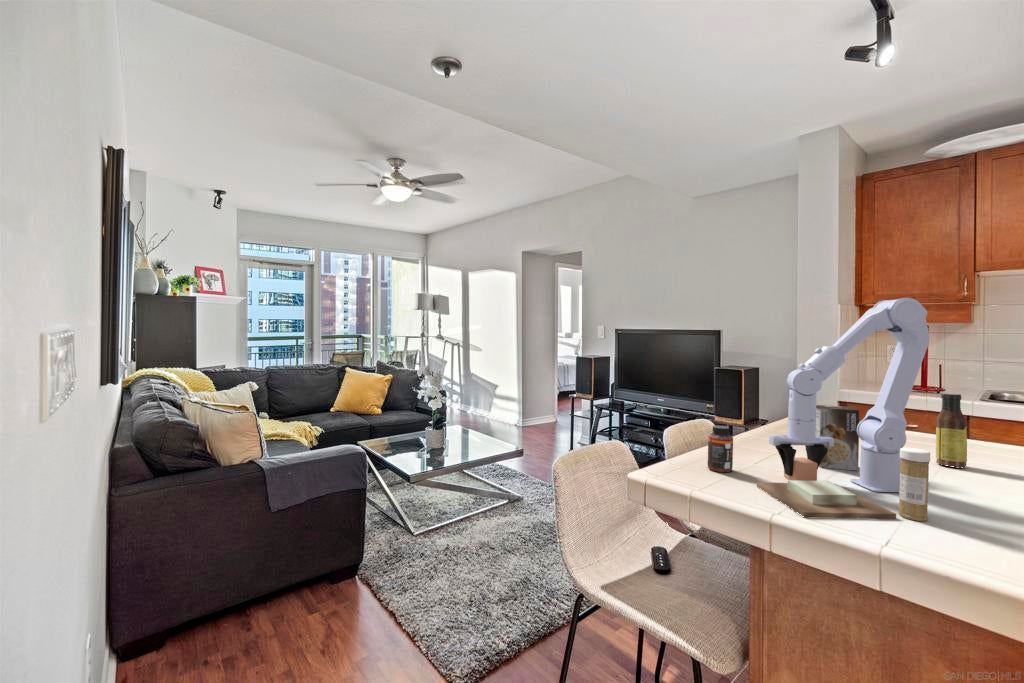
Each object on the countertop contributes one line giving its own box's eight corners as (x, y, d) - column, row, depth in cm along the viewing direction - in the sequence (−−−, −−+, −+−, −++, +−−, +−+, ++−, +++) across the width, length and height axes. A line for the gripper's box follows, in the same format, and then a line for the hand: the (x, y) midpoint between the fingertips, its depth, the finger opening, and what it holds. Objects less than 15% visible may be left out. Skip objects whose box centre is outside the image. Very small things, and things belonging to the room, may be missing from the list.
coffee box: (849, 464, 131) (851, 406, 130) (858, 471, 124) (861, 410, 124) (811, 461, 133) (813, 404, 133) (818, 467, 127) (820, 407, 127)
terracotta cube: (803, 477, 118) (804, 457, 118) (816, 484, 113) (817, 463, 113) (783, 477, 118) (784, 457, 118) (795, 483, 113) (796, 463, 113)
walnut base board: (834, 487, 111) (834, 475, 111) (896, 518, 93) (896, 503, 93) (756, 486, 111) (757, 473, 111) (803, 517, 93) (804, 502, 93)
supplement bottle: (735, 474, 121) (736, 429, 120) (710, 472, 122) (711, 428, 121) (729, 467, 126) (730, 424, 126) (705, 465, 128) (706, 423, 127)
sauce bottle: (973, 469, 127) (976, 395, 127) (949, 469, 127) (952, 395, 127) (950, 462, 134) (953, 392, 133) (928, 462, 134) (931, 391, 133)
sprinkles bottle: (931, 518, 93) (933, 450, 93) (923, 523, 91) (926, 453, 90) (902, 511, 97) (904, 445, 97) (893, 515, 94) (896, 448, 94)
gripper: (821, 416, 119) (819, 470, 120) (763, 415, 120) (761, 469, 120) (840, 422, 112) (838, 479, 113) (778, 421, 113) (777, 478, 113)
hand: (800, 474), depth 116 cm, fingers closed on terracotta cube, 5 cm apart
